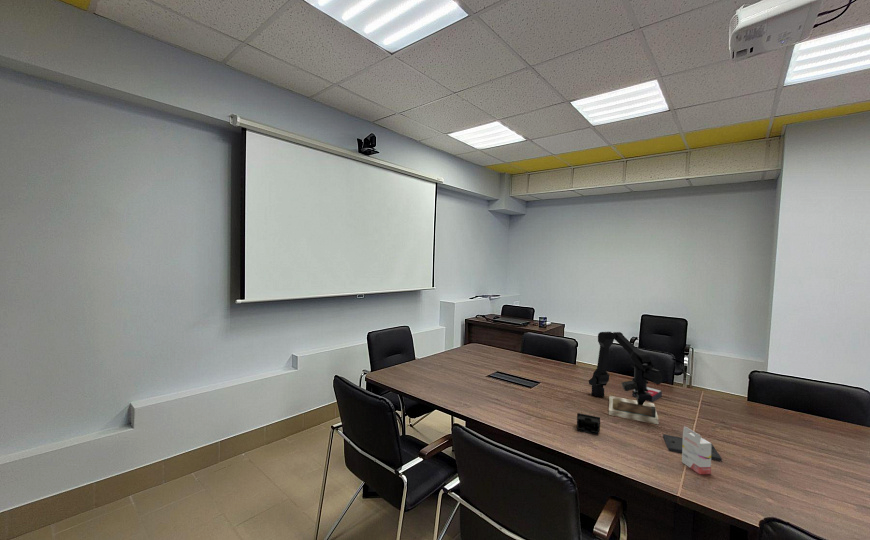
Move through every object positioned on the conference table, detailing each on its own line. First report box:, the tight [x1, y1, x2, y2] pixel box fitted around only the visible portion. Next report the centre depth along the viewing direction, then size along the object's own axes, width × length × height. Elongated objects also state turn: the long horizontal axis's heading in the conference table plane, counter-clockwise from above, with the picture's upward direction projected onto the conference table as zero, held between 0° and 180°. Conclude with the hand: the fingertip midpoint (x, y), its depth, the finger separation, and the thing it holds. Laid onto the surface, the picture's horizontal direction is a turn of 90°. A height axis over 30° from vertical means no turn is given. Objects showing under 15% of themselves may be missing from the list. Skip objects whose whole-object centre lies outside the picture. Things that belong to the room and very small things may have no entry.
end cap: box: [576, 412, 601, 436], centre depth 162 cm, size 10×7×7 cm
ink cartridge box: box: [681, 425, 713, 475], centre depth 132 cm, size 9×5×15 cm, turn 5°
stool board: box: [608, 395, 660, 425], centre depth 184 cm, size 22×23×3 cm
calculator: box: [631, 386, 663, 403], centre depth 206 cm, size 11×4×15 cm
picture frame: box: [662, 433, 723, 463], centre depth 147 cm, size 13×2×18 cm
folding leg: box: [613, 398, 657, 417], centre depth 177 cm, size 19×4×5 cm, turn 62°
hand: (639, 407), depth 178 cm, fingers closed
